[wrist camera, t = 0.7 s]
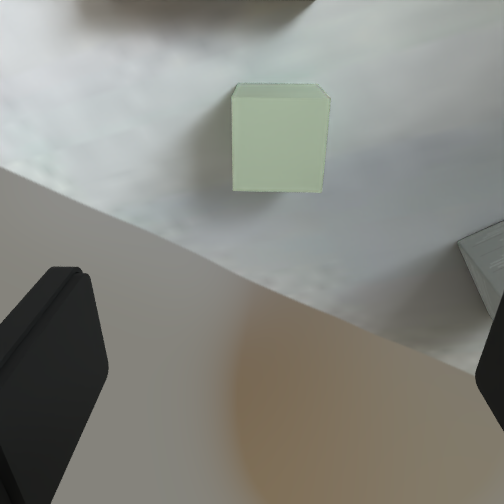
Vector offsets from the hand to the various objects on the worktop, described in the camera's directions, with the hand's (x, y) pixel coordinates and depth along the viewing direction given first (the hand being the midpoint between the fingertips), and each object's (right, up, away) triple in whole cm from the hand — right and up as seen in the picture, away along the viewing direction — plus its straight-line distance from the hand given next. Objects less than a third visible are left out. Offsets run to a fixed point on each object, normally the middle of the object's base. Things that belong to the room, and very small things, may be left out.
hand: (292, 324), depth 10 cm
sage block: (+1, +10, +18) cm, 21 cm away
